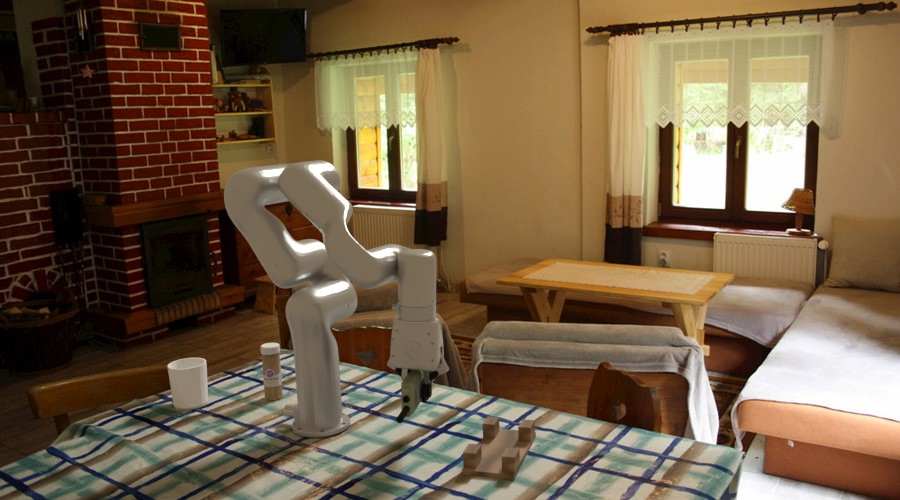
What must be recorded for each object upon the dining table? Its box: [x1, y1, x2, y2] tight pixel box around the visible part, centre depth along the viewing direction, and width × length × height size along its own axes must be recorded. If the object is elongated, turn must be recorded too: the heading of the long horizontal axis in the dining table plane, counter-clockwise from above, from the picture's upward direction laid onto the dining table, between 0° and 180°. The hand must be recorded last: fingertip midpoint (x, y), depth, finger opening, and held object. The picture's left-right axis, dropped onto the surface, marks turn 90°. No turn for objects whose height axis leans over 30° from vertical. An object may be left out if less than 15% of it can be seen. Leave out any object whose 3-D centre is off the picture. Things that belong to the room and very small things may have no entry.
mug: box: [167, 357, 209, 411], centre depth 189 cm, size 11×9×10 cm
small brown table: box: [461, 415, 537, 481], centre depth 155 cm, size 10×20×4 cm, turn 162°
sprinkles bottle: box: [260, 342, 284, 401], centre depth 191 cm, size 5×5×13 cm
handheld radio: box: [395, 369, 435, 424], centre depth 158 cm, size 7×3×25 cm
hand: (417, 398), depth 159 cm, fingers closed on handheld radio, 2 cm apart
